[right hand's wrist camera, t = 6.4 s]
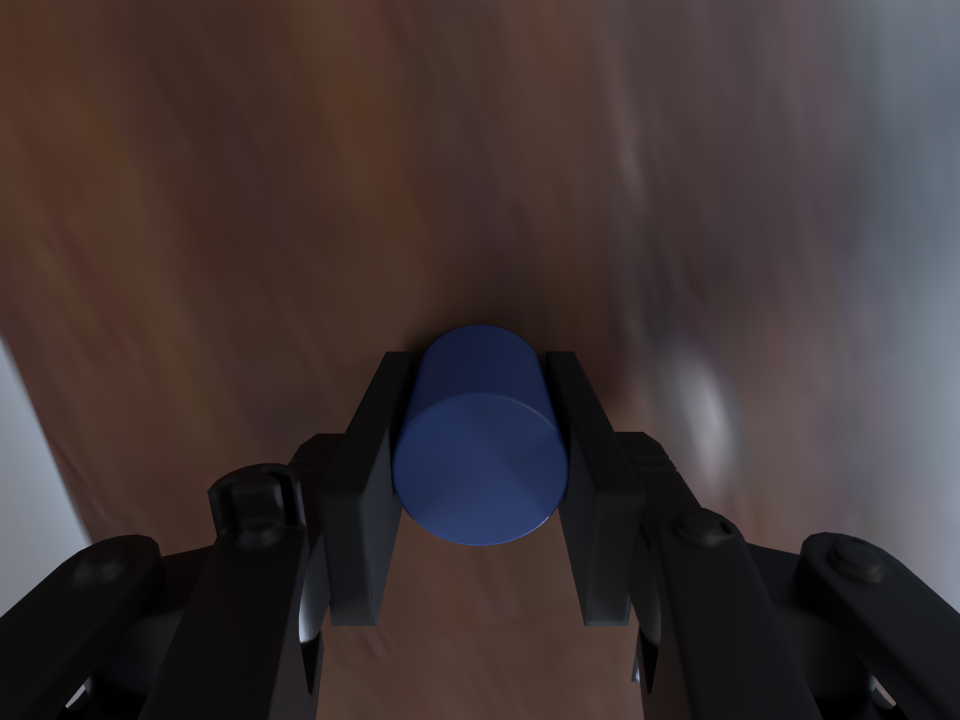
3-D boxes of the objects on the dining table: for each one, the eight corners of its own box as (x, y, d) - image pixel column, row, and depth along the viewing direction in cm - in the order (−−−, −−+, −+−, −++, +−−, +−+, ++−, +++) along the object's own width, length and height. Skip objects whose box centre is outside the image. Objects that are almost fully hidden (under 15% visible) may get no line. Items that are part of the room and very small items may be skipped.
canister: (547, 434, 15) (573, 540, 11) (425, 445, 15) (404, 553, 11) (540, 317, 14) (567, 385, 10) (407, 329, 14) (375, 402, 10)
